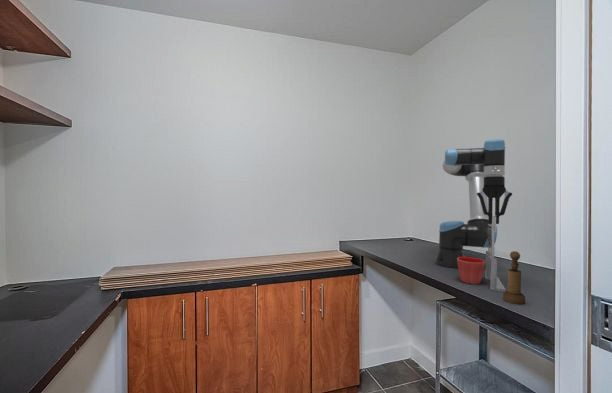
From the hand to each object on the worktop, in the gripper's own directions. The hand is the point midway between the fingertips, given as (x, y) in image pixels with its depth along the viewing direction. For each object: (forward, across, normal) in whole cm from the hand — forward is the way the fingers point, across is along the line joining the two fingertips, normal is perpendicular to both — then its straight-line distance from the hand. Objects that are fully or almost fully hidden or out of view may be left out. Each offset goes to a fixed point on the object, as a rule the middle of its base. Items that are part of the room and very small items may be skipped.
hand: (493, 231), depth 126 cm
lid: (+5, -2, 0) cm, 5 cm away
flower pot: (+23, -8, 0) cm, 24 cm away
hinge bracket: (+23, +1, 0) cm, 23 cm away
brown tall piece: (+23, +4, -19) cm, 30 cm away
